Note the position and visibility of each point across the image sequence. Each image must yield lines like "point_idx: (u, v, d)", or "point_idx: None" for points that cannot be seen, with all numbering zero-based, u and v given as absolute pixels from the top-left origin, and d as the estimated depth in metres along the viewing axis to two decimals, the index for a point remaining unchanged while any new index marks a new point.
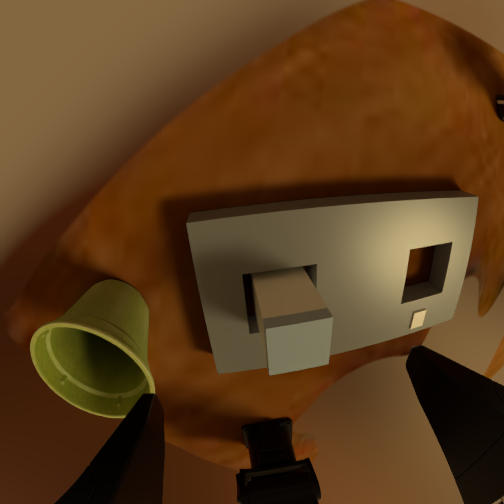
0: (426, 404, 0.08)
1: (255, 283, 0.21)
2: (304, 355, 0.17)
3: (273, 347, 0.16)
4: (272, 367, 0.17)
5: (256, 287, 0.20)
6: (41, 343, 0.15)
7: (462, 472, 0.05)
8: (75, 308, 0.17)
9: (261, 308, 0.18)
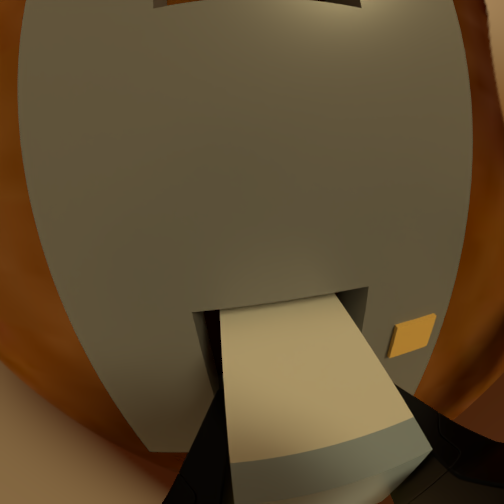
0: None
1: None
2: (359, 496, 0.04)
3: None
4: None
5: None
6: None
7: None
8: None
9: None
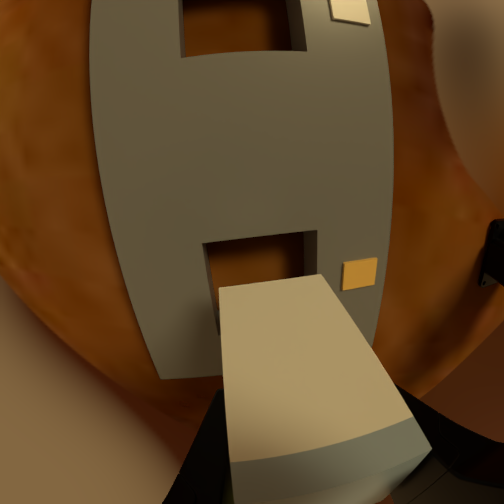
0: None
1: None
2: (359, 495, 0.04)
3: None
4: None
5: None
6: None
7: None
8: None
9: None
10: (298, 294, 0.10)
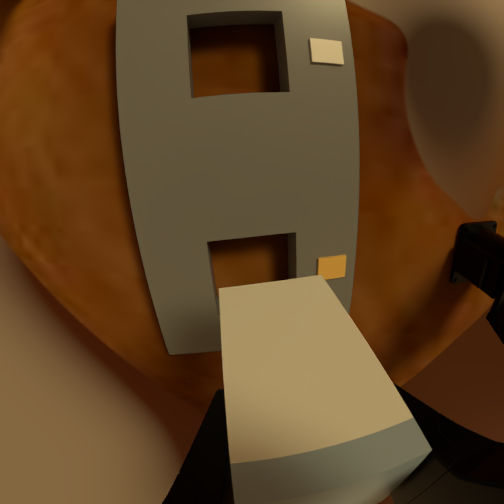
0: None
1: None
2: (359, 496, 0.04)
3: None
4: None
5: None
6: None
7: None
8: None
9: None
10: (299, 295, 0.10)
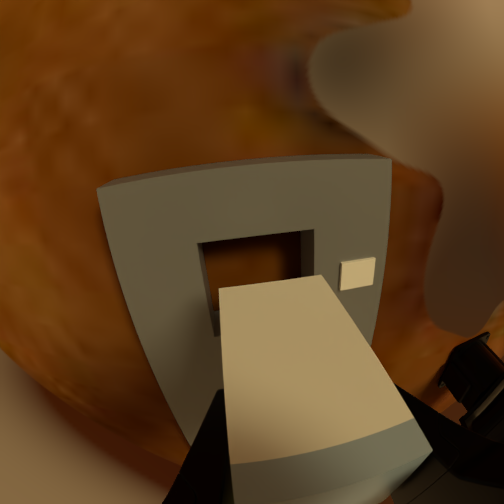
0: None
1: None
2: (360, 496, 0.04)
3: None
4: None
5: None
6: None
7: None
8: None
9: None
10: (299, 295, 0.10)
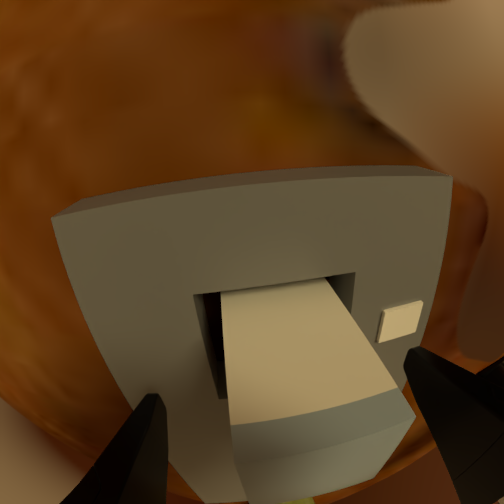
0: (424, 405, 0.08)
1: None
2: (350, 465, 0.05)
3: (301, 496, 0.06)
4: (354, 482, 0.06)
5: None
6: None
7: (460, 474, 0.05)
8: None
9: None
10: (294, 281, 0.11)
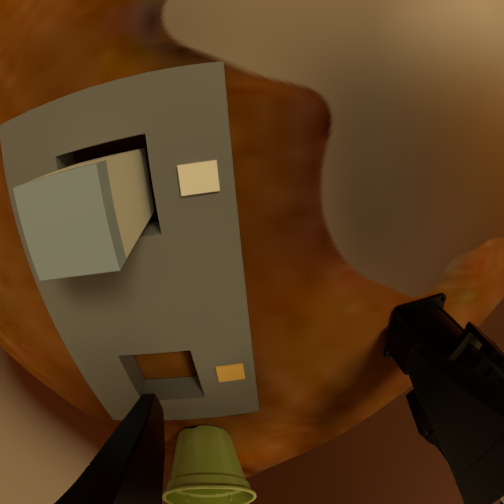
0: (426, 404, 0.08)
1: None
2: (74, 216, 0.09)
3: (64, 268, 0.09)
4: (101, 267, 0.10)
5: None
6: (194, 501, 0.22)
7: (462, 472, 0.05)
8: None
9: None
10: (120, 153, 0.14)
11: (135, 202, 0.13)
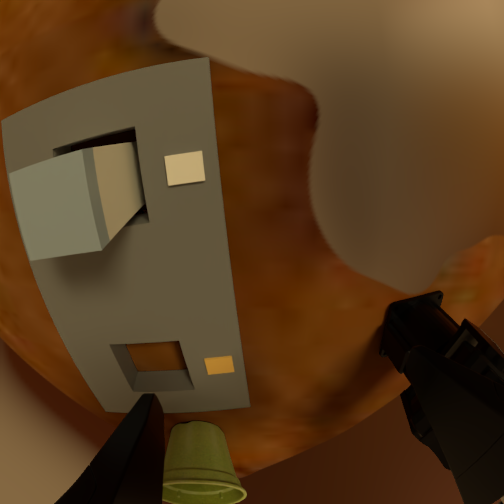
0: (426, 404, 0.08)
1: None
2: (61, 198, 0.09)
3: (51, 248, 0.10)
4: (85, 247, 0.10)
5: None
6: (185, 497, 0.22)
7: (462, 472, 0.05)
8: None
9: None
10: None
11: (123, 190, 0.13)
